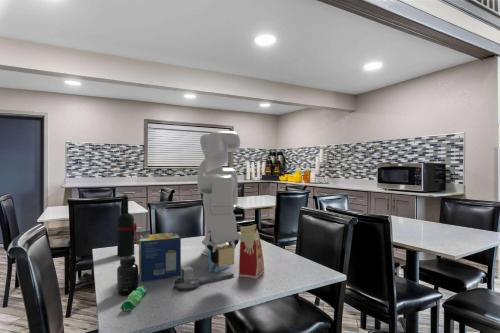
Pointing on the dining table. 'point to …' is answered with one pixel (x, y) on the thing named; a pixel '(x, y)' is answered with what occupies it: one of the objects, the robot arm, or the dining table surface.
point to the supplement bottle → (127, 276)
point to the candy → (134, 298)
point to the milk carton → (250, 253)
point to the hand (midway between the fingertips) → (222, 260)
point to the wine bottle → (126, 231)
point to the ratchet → (196, 279)
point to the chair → (214, 264)
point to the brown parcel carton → (224, 255)
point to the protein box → (159, 256)
